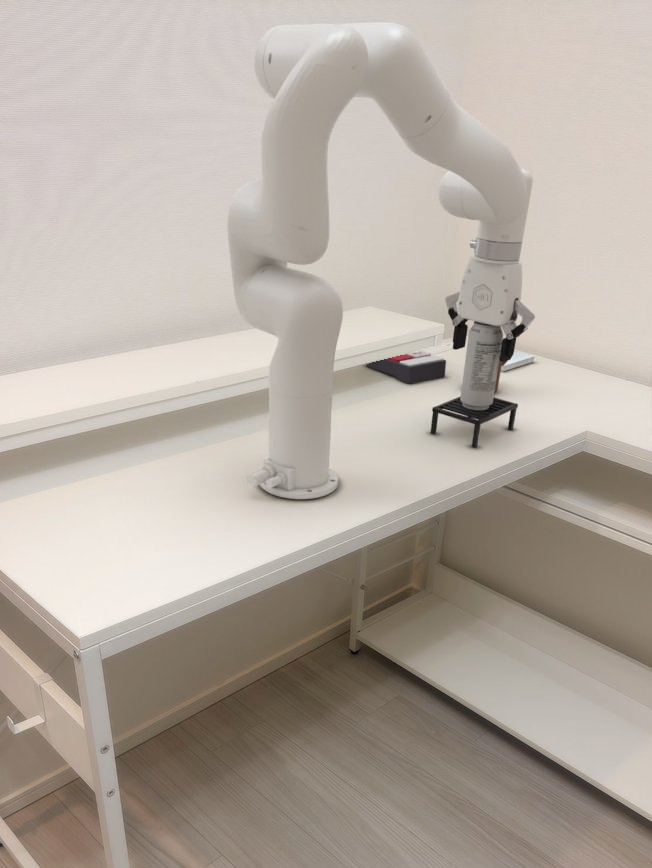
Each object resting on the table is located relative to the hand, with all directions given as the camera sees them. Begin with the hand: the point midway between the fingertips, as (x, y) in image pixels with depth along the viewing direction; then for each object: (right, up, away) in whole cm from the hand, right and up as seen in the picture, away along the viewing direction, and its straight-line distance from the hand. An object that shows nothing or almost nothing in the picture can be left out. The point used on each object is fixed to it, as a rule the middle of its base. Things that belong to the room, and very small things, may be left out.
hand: (481, 354), depth 143 cm
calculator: (-10, +8, +38) cm, 40 cm away
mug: (+7, +2, +31) cm, 32 cm away
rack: (0, -12, +8) cm, 15 cm away
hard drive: (+14, +12, +48) cm, 52 cm away
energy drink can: (0, -8, +6) cm, 10 cm away
